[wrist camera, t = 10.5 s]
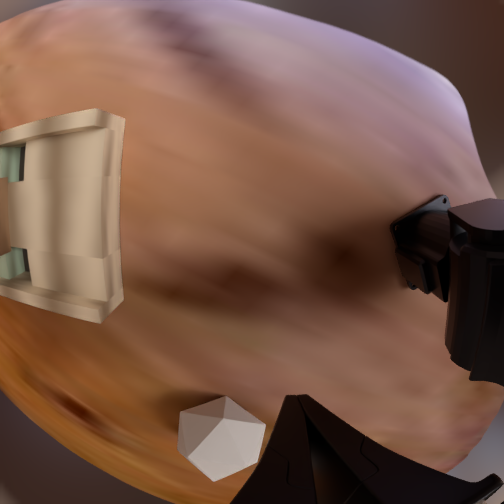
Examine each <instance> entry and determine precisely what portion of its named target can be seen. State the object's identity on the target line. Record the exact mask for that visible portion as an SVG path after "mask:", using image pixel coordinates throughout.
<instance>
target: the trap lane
mask: <svg viewBox="0 0 504 504" xmlns="http://www.w3.org/2000/svg"><path fill="white" fill-rule="evenodd" d="M124 127H125V118H122V117H119V116H117V115H114V114H111V113H109V112H106V111H103V110H101V109H98V108H95V109H89V110H83V111H78V112H73V113H68V114H63V115H58V116H54V117H50V118H46V119H42V120H38V121H34V122H31V123H27V124H24V125H20V126H17V127H14V128H11V129H8V130H5V131H2V132H0V178H3V177H8V217H9V232H10V242H11V252H9V253H6V254H4V255H2V256H0V295H2V296H4V297H7V298H10V299H13V300H16V301H19V302H22V303H25V304H28V305H32V306H35V307H38V308H41V309H45V310H48V311H52V312H55V313H59V314H63V315H66V316H70V317H74V318H78V319H82V320H86V321H90V322H94V323H99V324H101V323H102V322H103V321H104V320H105V319H106V318H107V317H108V316H109V315H110V313H111V312H112V311H113V310H114V309H115V308H116V307H117V306H118V305H119V304H120V303H121V302H122V301H123V300H124V296H123V285H122V272H121V254H120V177H121V160H122V147H123V137H124Z"/></svg>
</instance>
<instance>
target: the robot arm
mask: <svg viewBox="0 0 504 504" xmlns="http://www.w3.org/2000/svg"><path fill="white" fill-rule="evenodd" d="M443 198H444V202H443ZM396 225H397V226H398V229H397V230H395V226H396ZM390 230H391V233H392V236H393V239H394V242H395V245H396V250H395V253H396V256H397V259H398V263H399V266H400V269H401V272H402V276H403V277H404V278H406V280H407V284H408V287H409V288H410V289H412V290H415V289H417V288H419V289H420V290H421V291H422V292H424V293H425V294H430V293H431V292H432V293H433V294H434V295H436V296H437V297H438V298H439V299H441V300H442V301H443V302H445V303H446V302H448V309H447V320H446V329H445V345H446V347H447V349H448V351H449V353H450V354H451V356H450V359H451V360H452V361H453V362H454V363H455V364H457V365H458V366H460V367H462V368H464V369H466V370H468V371H471V373H470V376H469V380H471V381H488V382H493V383H497V384H499V385H502V386H504V200H502V199H491V198H489V199H484V200H480V201H476V202H472V203H468V204H464V205H460V206H456V207H452V208H451V206H450V203H449V199H448V197H447V196H446V195H439V196H438V197H436V198H434V199H433V200H431V201H429V202H427V203H426V204H424V205H422V206H421V207H419V208H417V209H415V210H414V211H412V212H410V213H408V214H407V215H405V216H403V217H401V218H399V219H398V220H396V221H394V222H393V223H392V224H391V225H390ZM412 284H414V285H413V286H412ZM503 484H504V483H503V481H502V480H501V478H500V477H498V476H497V475H496V474H494V473H493V474H490V475H489V476H487V477H486V478H484V479H483V480H481V481H479V482H468V481H464V480H462V479H458V478H456V477H453V476H450V475H447V474H445V473H442V472H439V471H437V470H434V469H432V468H429V467H427V466H425V465H422V464H420V463H417V462H415V461H413V460H411V459H408V458H406V457H404V456H402V455H399V454H397V453H395V452H393V451H391V450H389V449H387V448H385V447H383V446H382V445H380V444H378V443H377V442H375V441H373V440H372V439H370V438H369V437H367V436H365V435H364V434H362V433H361V432H359V431H358V430H356V429H355V428H353V427H352V426H350V425H349V424H347V423H346V422H345V421H343V420H342V419H340V418H339V417H337V416H336V415H335V414H333V413H332V412H330V411H329V410H328V409H326V408H325V407H324V406H322V405H321V404H319V403H318V402H317V401H315V400H314V399H313V398H311V397H310V396H309V395H307V394H302V395H297V396H296V395H286V396H285V398H284V401H283V404H282V407H281V410H280V412H279V415H278V418H277V420H276V423H275V426H274V428H273V431H272V434H271V436H270V439H269V441H268V444H267V446H266V448H265V451H264V453H263V455H262V457H261V459H260V462H259V463H258V465H257V467H256V468H255V470H254V471H253V473H252V474H251V476H250V477H249V479H248V480H247V481H246V483H245V484H244V485H243V487H242V488H241V489H240V491H239V492H238V493H237V495H236V496H235V497H234V499H233V500H232V501H231V503H230V504H487V503H486V500H487V499H488V498H489V497H490V496H492V495H493V494H494V493H495V492H496V491H497V490H498V489H499V488H500V487H501V486H502V485H503ZM501 504H504V501H503V502H502V503H501Z"/></svg>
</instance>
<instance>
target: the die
mask: <svg viewBox="0 0 504 504" xmlns="http://www.w3.org/2000/svg"><path fill="white" fill-rule="evenodd" d="M265 427H266V424H264V423H263V422H261V421H260V420H259V419H257V418H256V417H254V416H253V415H251V414H250V413H249V412H247V411H246V410H245V409H243V408H242V407H241V406H239V405H238V404H237V403H235V402H234V401H233V400H231V399H230V398H229V397H227V396H224V397H221V398H219V399H216V400H213V401H210V402H207V403H205V404H202V405H199V406H196V407H193V408H190V409H187V410H183V411H180V419H179V432H178V446H177V450H178V451H179V452H180V453H181V454H182V455H183V456H184V457H185V458H186V459H188V460H189V461H190V462H191V463H192V464H193V465H194V466H195V467H197V468H198V469H199V470H200V471H201V472H202V473H204V474H205V475H206V476H207V477H209V478H210V479H211V480H212V481H213V482H214V481H217V480H219V479H221V478H224V477H226V476H229V475H231V474H233V473H235V472H238V471H240V470H242V469H244V468H246V467H248V466H250V465H252V464H254V463H256V462H257V461H258V457H259V453H260V449H261V444H262V440H263V436H264V431H265Z"/></svg>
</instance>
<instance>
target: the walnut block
mask: <svg viewBox="0 0 504 504" xmlns="http://www.w3.org/2000/svg"><path fill="white" fill-rule="evenodd" d="M9 252H11V242H10V232H9V217H8V177H3V178H0V256H2V255H4V254H6V253H9Z"/></svg>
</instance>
